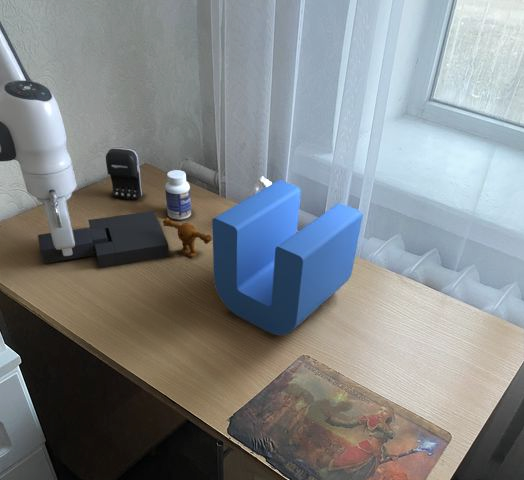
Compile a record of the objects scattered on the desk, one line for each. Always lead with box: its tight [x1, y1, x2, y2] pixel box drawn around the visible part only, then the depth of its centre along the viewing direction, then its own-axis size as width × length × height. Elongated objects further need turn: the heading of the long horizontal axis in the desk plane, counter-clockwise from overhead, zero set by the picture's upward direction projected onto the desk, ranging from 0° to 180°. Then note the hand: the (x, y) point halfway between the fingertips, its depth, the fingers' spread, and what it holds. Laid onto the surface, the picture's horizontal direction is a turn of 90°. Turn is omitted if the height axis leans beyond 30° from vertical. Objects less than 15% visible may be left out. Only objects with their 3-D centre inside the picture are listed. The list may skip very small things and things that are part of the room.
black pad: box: [88, 210, 170, 269], centre depth 111 cm, size 14×14×3 cm
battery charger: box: [105, 146, 143, 201], centre depth 123 cm, size 7×4×11 cm, turn 82°
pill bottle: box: [164, 169, 192, 221], centre depth 119 cm, size 5×5×10 cm
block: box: [211, 179, 364, 336], centre depth 95 cm, size 18×18×18 cm
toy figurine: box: [162, 217, 213, 258], centre depth 108 cm, size 12×4×7 cm, turn 56°
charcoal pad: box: [37, 227, 109, 264], centre depth 108 cm, size 13×6×3 cm, turn 110°
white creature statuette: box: [252, 175, 273, 195], centre depth 115 cm, size 10×9×12 cm
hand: (66, 243), depth 108 cm, fingers closed on charcoal pad, 6 cm apart
